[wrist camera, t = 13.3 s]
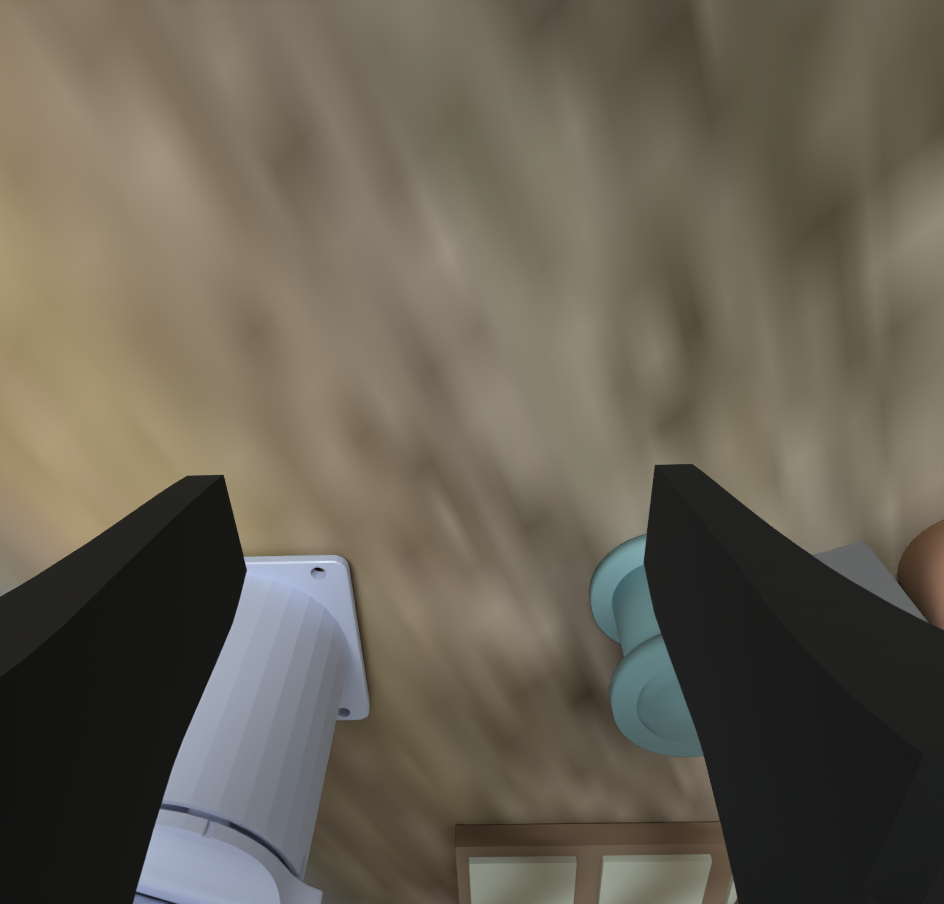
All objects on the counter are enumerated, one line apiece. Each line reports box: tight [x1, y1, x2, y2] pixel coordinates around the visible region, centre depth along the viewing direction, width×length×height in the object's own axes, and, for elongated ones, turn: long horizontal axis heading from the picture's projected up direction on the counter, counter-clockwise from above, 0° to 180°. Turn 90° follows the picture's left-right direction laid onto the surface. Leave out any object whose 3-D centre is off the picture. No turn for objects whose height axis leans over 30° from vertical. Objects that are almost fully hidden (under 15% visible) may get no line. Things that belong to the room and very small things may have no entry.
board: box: [455, 822, 737, 904], centre depth 34 cm, size 18×8×1 cm, turn 92°
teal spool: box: [589, 534, 704, 757], centre depth 23 cm, size 5×5×5 cm
